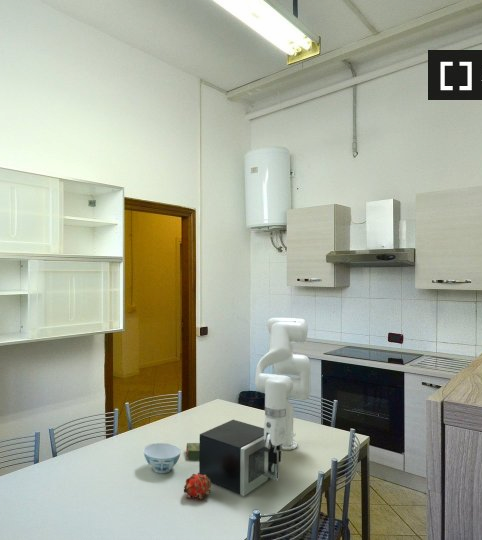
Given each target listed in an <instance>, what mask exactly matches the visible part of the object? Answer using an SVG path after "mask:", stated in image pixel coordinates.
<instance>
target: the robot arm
mask: <svg viewBox="0 0 482 540" xmlns="http://www.w3.org/2000/svg"><path fill="white" fill-rule="evenodd" d="M308 325H309V324H308V322H307V320H305V319H304V318H297V317H296V318H295V317H271V318H269V319H268V320H267V330H268V332H269V335H270V336H269V338H270V339H269V345H268V346H269V347H268V352H267V353H265V354H263V356H262V357H261V358H260V360H258V362H257V364H256V367H255V375H254V388H255V390H256V391H257V392H259V393H263V394H264V416H265V417H264V426H263V428H264V442H265V443H266V444H265V448H267V449H268V451H269V462H271V463H274V464H277V453H276V449H278V450H279V463H280V462H281V461H282V450H283V451H291V450H294V449H296V448H297V445H298V443H297V442H296V441H295V440H294V437H296V435H297V433H296V432H295V431H294V418H295V417H294V416H295V415H294V414H295V413H294V412H295V411H294V405H293V404H292V402H291V401H290V400H291V399H292V400H299V401H301V400H302V401H306V400H309V398H310V396H311V362H310V359H309V357H308V356H307V355H305V354H296V353H294V343H305V342H306V341H307V338H308V331H309V326H308ZM272 365H273V367H274V371H275V373H277V374H275V373H264V371H265V370H266V369H267V368H268V367H271V366H272ZM288 375H289V376H288ZM291 376H298V377H291ZM272 446H273V447H272Z"/></svg>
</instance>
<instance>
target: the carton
mask: <svg viewBox="0 0 482 540" xmlns="http://www.w3.org/2000/svg"><path fill="white" fill-rule="evenodd" d="M199 447H200V442H186V449H185V450H186V451H185V452H186V456H187V459H188V460H190V461H191V460H193V461H194V460H195V461H196V460H197V461H199Z"/></svg>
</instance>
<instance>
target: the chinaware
mask: <svg viewBox="0 0 482 540" xmlns="http://www.w3.org/2000/svg"><path fill="white" fill-rule="evenodd" d="M181 452H182V451H181V449H180V448H179V447H178V446H177V445H175V444H171V443H166V442H155V443H150V444H148V445H146V446H144V448H143V456H144V459H145V462H147V464H148V465H149V466H150V467H151V468H152V469H153V471H154V472H156V473H158V474H166V473H169V472H170V471H171V469H172V468H174V467H175V466H176V465H177V463H178V461H179V459H180V456H181Z"/></svg>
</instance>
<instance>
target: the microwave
mask: <svg viewBox="0 0 482 540" xmlns="http://www.w3.org/2000/svg"><path fill="white" fill-rule="evenodd" d="M262 436H264V427H261V426H258V425H253V424H250V423H247V422H243V421H239V420H236V419H231V420H228V421H227V422H224V423H222V424H220V425H217V426H215V427H213V428H211V429H209V430H205V431H203V432H202V433H199V443H200V447H199V460H198V461H199V462H198V464H199V465H198V473H200V474H202V475H207V477H208V478H210V482H211V483H210V484H212V485H213V484H214V485H216V486H218V487H220V488H222V489H225V490H227V491H229V492H231V493H234V494H237V495H239V496H241V495H240V457H241V448H242V447H244V446H246V445H248V444H250V443H251V442H253V441H255V440H257V439H259V438H261V437H262ZM272 447H273V446H272ZM268 471H269V472H272V473H274V463H271V462H269V452H268ZM268 479H270V478H269V477H268Z"/></svg>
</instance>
